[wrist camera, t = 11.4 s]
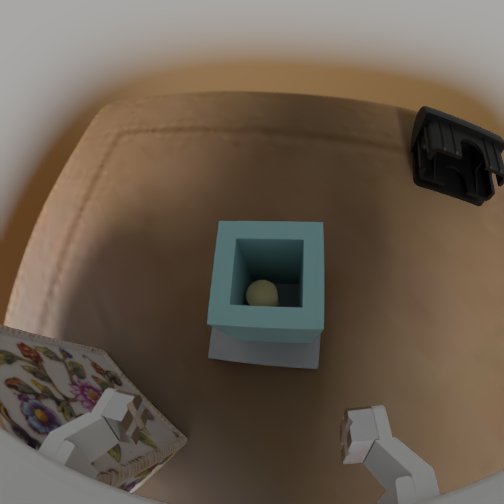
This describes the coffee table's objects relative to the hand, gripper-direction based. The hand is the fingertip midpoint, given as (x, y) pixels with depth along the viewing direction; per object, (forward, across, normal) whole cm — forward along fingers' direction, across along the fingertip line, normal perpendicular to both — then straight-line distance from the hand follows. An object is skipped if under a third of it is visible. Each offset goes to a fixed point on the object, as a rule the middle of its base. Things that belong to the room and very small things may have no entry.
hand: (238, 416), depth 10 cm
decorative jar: (+5, -14, -13) cm, 19 cm away
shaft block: (+13, 0, -4) cm, 13 cm away
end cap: (+23, +20, +7) cm, 32 cm away
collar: (+12, +1, -2) cm, 12 cm away
